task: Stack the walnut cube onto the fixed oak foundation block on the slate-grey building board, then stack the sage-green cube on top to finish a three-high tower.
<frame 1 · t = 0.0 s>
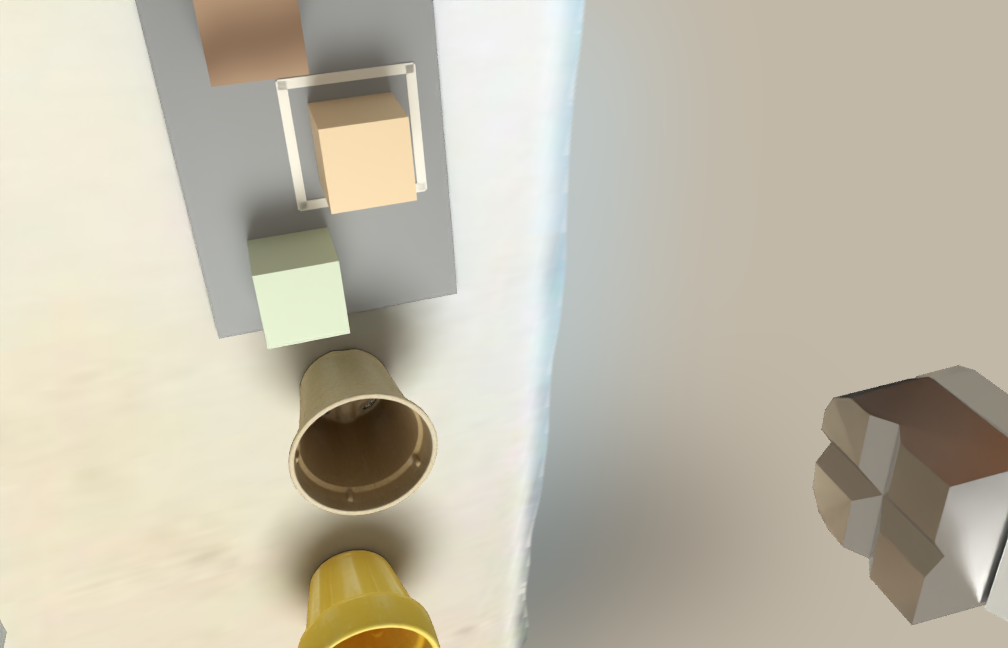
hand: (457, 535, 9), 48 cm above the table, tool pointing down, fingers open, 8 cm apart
walnut block: (245, 11, 50), point 1 cm above the table, touching building board
flower pot: (344, 382, 65), on the table
sage block: (294, 269, 58), point 1 cm above the table, touching building board
plant pot: (351, 578, 74), on the table
building board: (312, 139, 55), on the table
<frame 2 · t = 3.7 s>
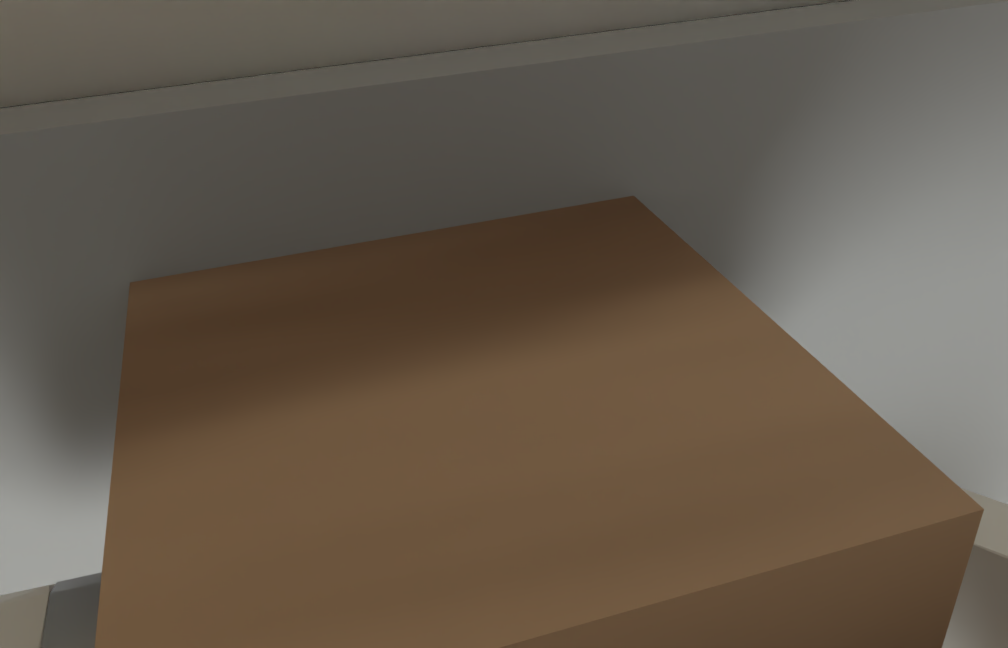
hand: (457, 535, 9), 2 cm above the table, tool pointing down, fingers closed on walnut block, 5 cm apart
walnut block: (421, 437, 10), point 1 cm above the table, touching building board, gripper
when the fingers open (8 cm above the table, at t = 8.2 s): walnut block stays where it is, resting on building board.
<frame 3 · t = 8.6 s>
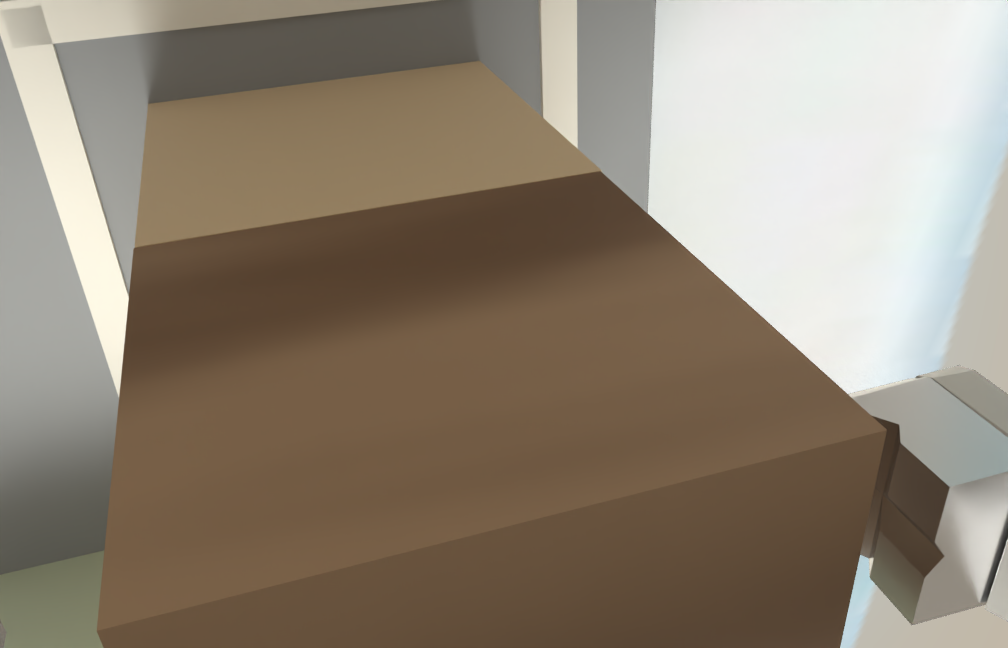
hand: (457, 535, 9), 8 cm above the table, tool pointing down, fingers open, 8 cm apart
walnut block: (405, 398, 11), point 6 cm above the table, touching building board
sage block: (148, 639, 18), point 1 cm above the table, touching building board
building board: (186, 237, 15), on the table
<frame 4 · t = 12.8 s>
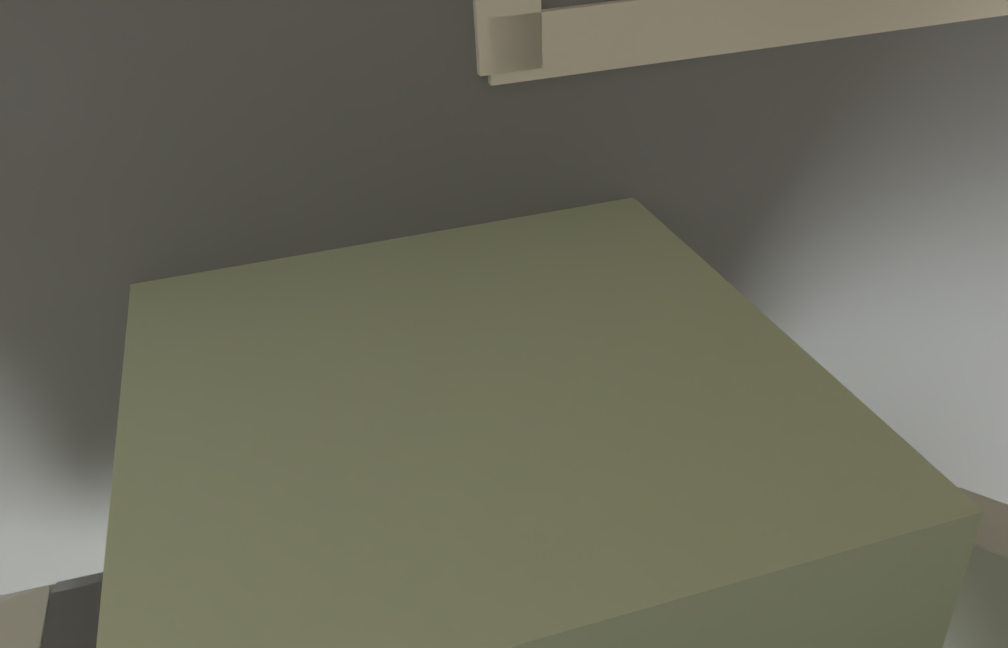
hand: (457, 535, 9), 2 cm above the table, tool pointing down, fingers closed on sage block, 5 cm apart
sage block: (422, 439, 10), point 1 cm above the table, touching building board, gripper
when the fingers open (13 cm above the table, at t = 17.9 s): sage block stays where it is, resting on walnut block.
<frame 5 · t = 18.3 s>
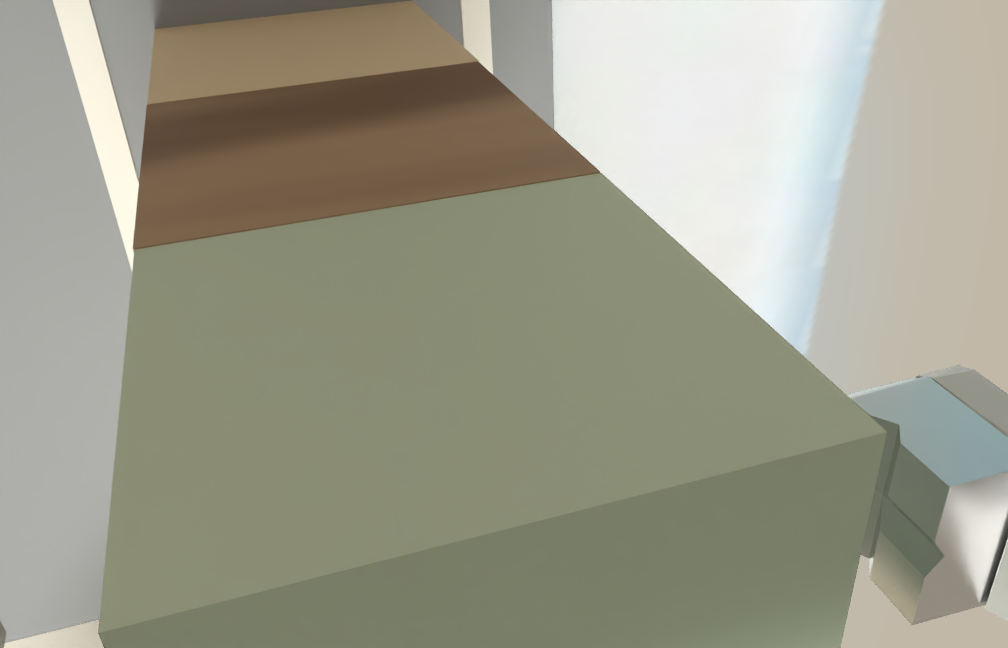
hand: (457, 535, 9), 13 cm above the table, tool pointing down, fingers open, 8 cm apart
walnut block: (342, 232, 15), point 6 cm above the table, touching building board, sage block
sage block: (405, 400, 11), point 11 cm above the table, touching walnut block
building board: (184, 141, 19), on the table
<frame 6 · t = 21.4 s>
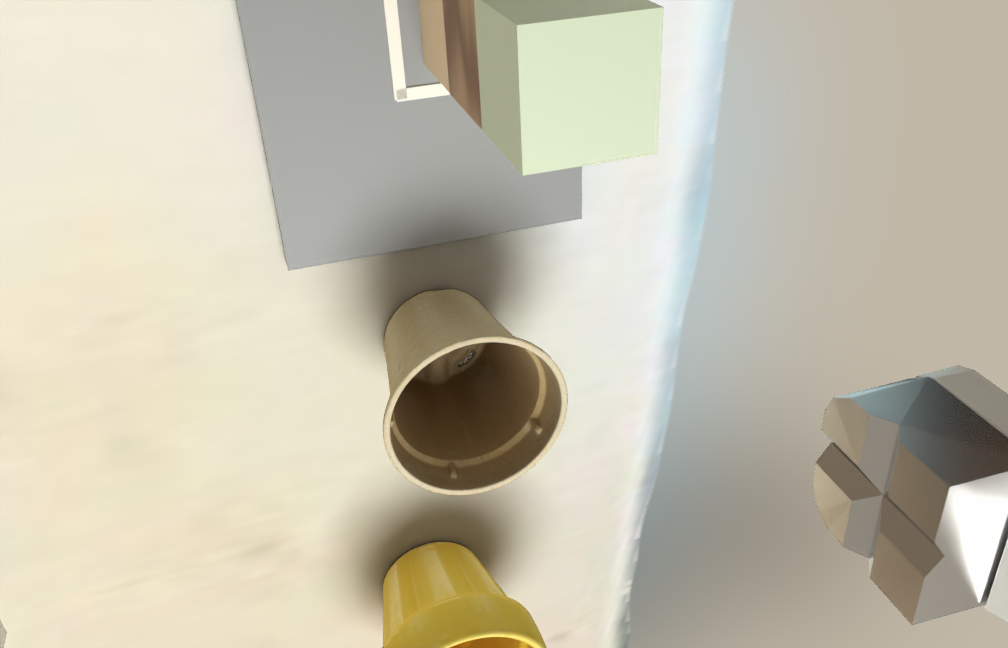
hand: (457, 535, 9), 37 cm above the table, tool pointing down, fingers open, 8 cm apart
walnut block: (502, 27, 38), point 6 cm above the table, touching building board, sage block
flower pot: (436, 331, 52), on the table
sage block: (541, 56, 34), point 11 cm above the table, touching walnut block
plant pot: (431, 575, 62), on the table
building board: (415, 6, 43), on the table
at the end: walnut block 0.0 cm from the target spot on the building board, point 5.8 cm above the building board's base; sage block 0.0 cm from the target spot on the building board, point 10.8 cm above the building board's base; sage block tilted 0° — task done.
